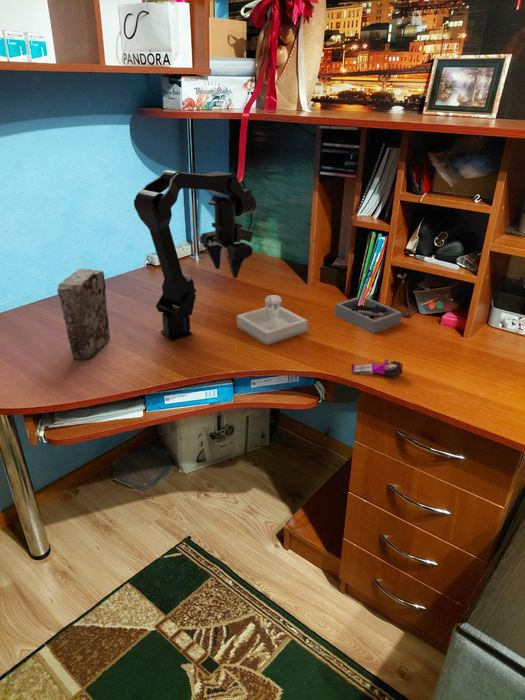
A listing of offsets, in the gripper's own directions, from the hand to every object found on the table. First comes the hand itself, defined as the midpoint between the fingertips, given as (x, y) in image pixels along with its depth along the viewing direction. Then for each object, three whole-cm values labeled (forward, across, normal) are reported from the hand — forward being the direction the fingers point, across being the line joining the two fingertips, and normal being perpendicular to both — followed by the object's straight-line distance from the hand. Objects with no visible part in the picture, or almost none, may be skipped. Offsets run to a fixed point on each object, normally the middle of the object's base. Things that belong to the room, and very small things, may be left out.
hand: (226, 272), depth 155 cm
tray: (+12, -18, -3) cm, 22 cm away
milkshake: (+11, -18, -3) cm, 22 cm away
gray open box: (+12, -29, -30) cm, 43 cm away
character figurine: (+12, -52, -9) cm, 54 cm away
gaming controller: (+11, -29, -30) cm, 43 cm away
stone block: (+12, 0, +42) cm, 44 cm away
